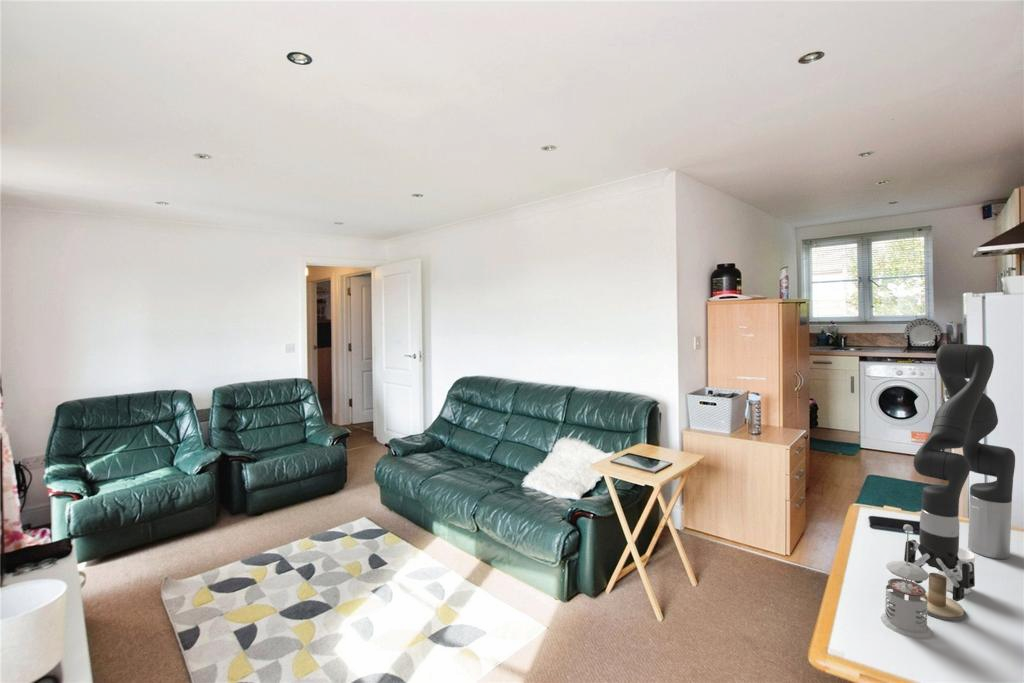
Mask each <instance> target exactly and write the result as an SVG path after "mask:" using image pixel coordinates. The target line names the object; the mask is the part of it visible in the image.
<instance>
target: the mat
mask: <svg viewBox="0 0 1024 683" xmlns="http://www.w3.org/2000/svg"><path fill="white" fill-rule="evenodd" d="M963 610H964V611H963V616H962V617H959V618H946V617H941V616H937V615H934V614H931V613H929V612H926V613H927V614H928V615H927V616H930V617H932V616H933V618H935V619H940V620H944V621H949V622H958V621H960V622H961V621H963V620H965V619H966V617H967V612H966V611H965V609H964V608H963ZM923 611H924V610H923ZM924 612H925V611H924Z"/></svg>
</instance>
